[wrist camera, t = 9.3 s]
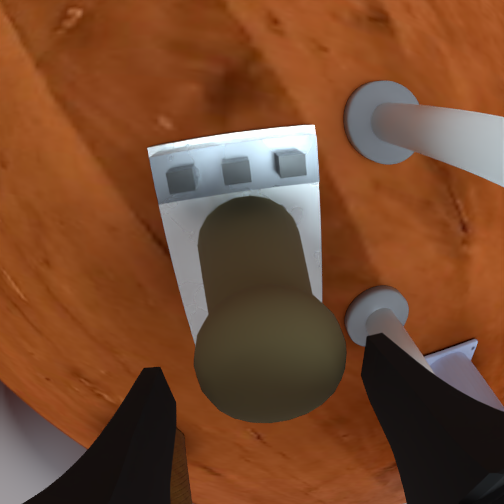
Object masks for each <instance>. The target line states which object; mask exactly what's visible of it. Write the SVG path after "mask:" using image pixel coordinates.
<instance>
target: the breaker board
mask: <svg viewBox="0 0 504 504" xmlns="http://www.w3.org/2000/svg"><path fill="white" fill-rule="evenodd" d="M148 154H149V159H150V164H151V170H152V175H153V180H154V185H155V189H156V194H157V199H158V204H159V208H160V213H161V217H162V222H163V226H164V230H165V235H166V239H167V243H168V247H169V251H170V255H171V259H172V263H173V267H174V271H175V275H176V279H177V283H178V287H179V290H180V294H181V298H182V301H183V305H184V308H185V312H186V316H187V319H188V323H189V326H190V329H191V333H192V336H193V340H194V343H195V346H196V338H197V334H198V332H199V330H200V328H201V326H202V324H203V323H204V321H205V319H206V318H207V316H208V309H207V303H206V297H205V291H204V285H203V279H202V273H201V266H200V260H199V253H198V247H197V245H198V238H199V231H200V229H201V227H202V225H203V223H204V221H205V219H206V217H207V216H208V215H209V214H210V213H211V212H212V211H213V210H214V209H215V208H216V207H218V206H219V205H220V204H223V203H225V202H227V201H229V200H231V199H233V198H237V197H244V196H257V197H263V198H268V199H270V200H272V201H274V202H276V203H278V204H280V205H282V206H283V207H284V208H285V209H286V210H287V211H288V212H289V214H290V215H291V216H292V217H293V218H294V221H295V223H296V225H297V227H298V230H299V233H300V238H301V242H302V247H303V251H304V256H305V261H306V265H307V270H308V275H309V280H310V284H311V289H312V294H313V295H314V296H315V297H316V298H317V299H318V300H320V301H321V302H322V253H321V221H320V198H319V167H318V152H317V139H316V134H315V125H312V124H306V125H293V126H282V127H272V128H262V129H254V130H246V131H238V132H230V133H223V134H216V135H210V136H204V137H197V138H192V139H186V140H180V141H175V142H169V143H164V144H159V145H154V146H150V147H149V148H148Z"/></svg>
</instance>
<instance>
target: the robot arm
mask: <svg viewBox="0 0 504 504" xmlns="http://www.w3.org/2000/svg"><path fill="white" fill-rule="evenodd" d="M477 343H478V341H477V340H476V339H473V340H470V341H467V342H465V343H462V344H459V345H456V346H454V347H451V348H448V349H445V350H442V351H439V352H436V353H433V354H430V355H427V356H424V358H425V360H426V361H427V363H428V364H429V366H430V367H431V369H432V370H433V372H434V373H435V374H433V373H432V372H430V371H429V370H428V369H426V368H425V367H424V366H423V365H421V364H420V363H419V362H417V361H416V360H415V359H414V358H412V357H411V356H410V355H409V354H408V353H406V352H405V351H404V350H403V349H402V348H400V347H399V346H398V345H397V344H396V343H394V342H393V341H392V340H391V339H390V338H388V337H387V336H386V335H385V334H383V333H378V334H374V335H370V336H367V337H366V345H365V352H364V359H363V365H362V372H361V376H362V380H363V383H364V386H365V389H366V392H367V395H368V398H369V400H370V403H371V405H372V407H373V409H374V411H375V413H376V416H377V418H378V420H379V422H380V424H381V426H382V428H383V431H384V433H385V435H386V437H387V439H388V441H389V444H390V446H391V449H392V451H393V454H394V457H395V460H396V463H397V467H398V470H399V473H400V477H401V481H402V485H403V488H404V492H405V497H406V502H407V504H504V407H503V405H502V404H501V402H500V401H499V399H498V398H497V397H496V395H495V394H494V392H493V391H492V389H491V388H490V387H489V385H488V384H487V382H486V381H485V380H484V378H483V377H482V376H481V374H480V373H479V372H478V370H477V369H476V367H475V366H474V365H473V363H472V362H471V358H472V356H473V354H474V351H475V348H476V346H477ZM175 435H176V401H175V399H174V397H173V395H172V392H171V390H170V388H169V386H168V384H167V381H166V379H165V377H164V374H163V372H162V370H161V367H151V368H144V369H143V370H142V371H141V373H140V375H139V376H138V378H137V380H136V381H135V383H134V385H133V386H132V388H131V389H130V391H129V393H128V394H127V396H126V397H125V399H124V401H123V402H122V404H121V405H120V407H119V408H118V410H117V411H116V413H115V414H114V416H113V417H112V419H111V420H110V422H109V423H108V424H107V426H106V427H105V428H104V430H103V431H102V433H101V434H100V435H99V437H98V438H97V439H96V440H95V442H94V443H93V444H92V445H91V446H90V448H89V449H88V450H87V451H86V452H85V453H84V454H83V455H82V456H81V458H79V460H78V461H77V462H76V463H75V464H74V465H73V466H72V467H70V468H69V469H68V470H67V471H66V472H65V473H64V474H63V475H62V476H61V477H59V479H57V480H56V481H55V482H54V483H52V484H51V485H50V486H49V487H47V488H46V489H44V490H43V491H41V492H40V493H38V494H37V495H35V496H34V497H32V498H31V499H29V500H27V501H26V502H24V503H23V504H171V500H170V482H171V471H172V462H173V453H174V444H175Z"/></svg>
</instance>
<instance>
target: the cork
mask: <svg viewBox="0 0 504 504" xmlns="http://www.w3.org/2000/svg"><path fill="white" fill-rule="evenodd" d="M197 247H198V253H199V260H200V266H201V273H202V279H203V285H204V291H205V297H206V303H207V309H208V316H207V318H206V319H205V321H204V323H203V324H202V326H201V328H200V330H199V332H198V334H197V338H196V346H195V355H194V368H195V372H196V375H197V378H198V381H199V384H200V387H201V390H202V392H203V393H204V394H205V395H206V396H207V398H208V399H209V400H210V401H211V402H212V403H213V404H214V405H215V406H216V407H217V408H218V409H219V410H220V411H221V412H223V413H225V414H227V415H229V416H231V417H233V418H235V419H239V420H243V421H247V422H253V423H273V422H280V421H286V420H290V419H293V418H296V417H299V416H302V415H304V414H307V413H309V412H310V411H312V410H314V409H315V408H317V407H319V406H320V405H322V404H323V403H324V402H325V401H326V400H327V399H328V398H329V397H330V396H331V395H332V394H333V393H334V392H335V390H336V388H337V386H338V384H339V383H340V381H341V379H342V376H343V373H344V370H345V363H346V343H345V339H344V336H343V333H342V331H341V328H340V326H339V323H338V322H337V320H336V318H335V316H334V314H333V313H332V312H331V311H330V310H329V309H328V308H327V307H326V306H325V305H324V304H323V303H322V302H321V301H320V300H318V299H317V298H316V297H315V296H314V295H313V294H312V289H311V284H310V280H309V275H308V270H307V265H306V261H305V256H304V251H303V247H302V242H301V238H300V233H299V230H298V227H297V225H296V223H295V221H294V218H293V217H292V216H291V215H290V214H289V212H288V211H287V210H286V209H285V208H284V207H283V206H282V205H280V204H278V203H276V202H274V201H272V200H270V199H268V198H263V197H257V196H244V197H237V198H233V199H231V200H229V201H227V202H225V203H223V204H220V205H219V206H218V207H216V208H215V209H214V210H213V211H212V212H211V213H210V214H209V215H208V216H207V217H206V219H205V221H204V223H203V225H202V227H201V229H200V231H199V238H198V245H197Z"/></svg>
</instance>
